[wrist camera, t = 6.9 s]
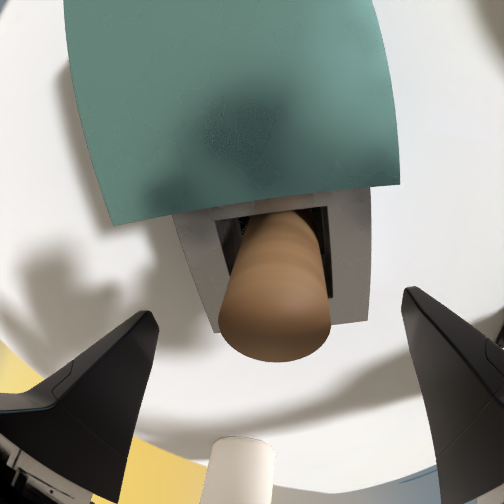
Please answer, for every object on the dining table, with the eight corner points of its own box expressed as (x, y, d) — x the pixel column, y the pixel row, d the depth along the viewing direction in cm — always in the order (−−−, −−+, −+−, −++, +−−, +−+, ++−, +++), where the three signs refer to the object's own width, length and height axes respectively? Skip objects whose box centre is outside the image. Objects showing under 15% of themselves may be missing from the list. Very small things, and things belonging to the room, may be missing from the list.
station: (362, 274, 16) (385, 348, 11) (206, 290, 18) (178, 360, 13) (312, -45, 7) (322, -106, 2) (130, 0, 9) (63, -26, 4)
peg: (316, 245, 16) (331, 358, 9) (256, 252, 17) (233, 363, 10) (309, 187, 14) (329, 275, 7) (243, 196, 15) (204, 287, 8)
